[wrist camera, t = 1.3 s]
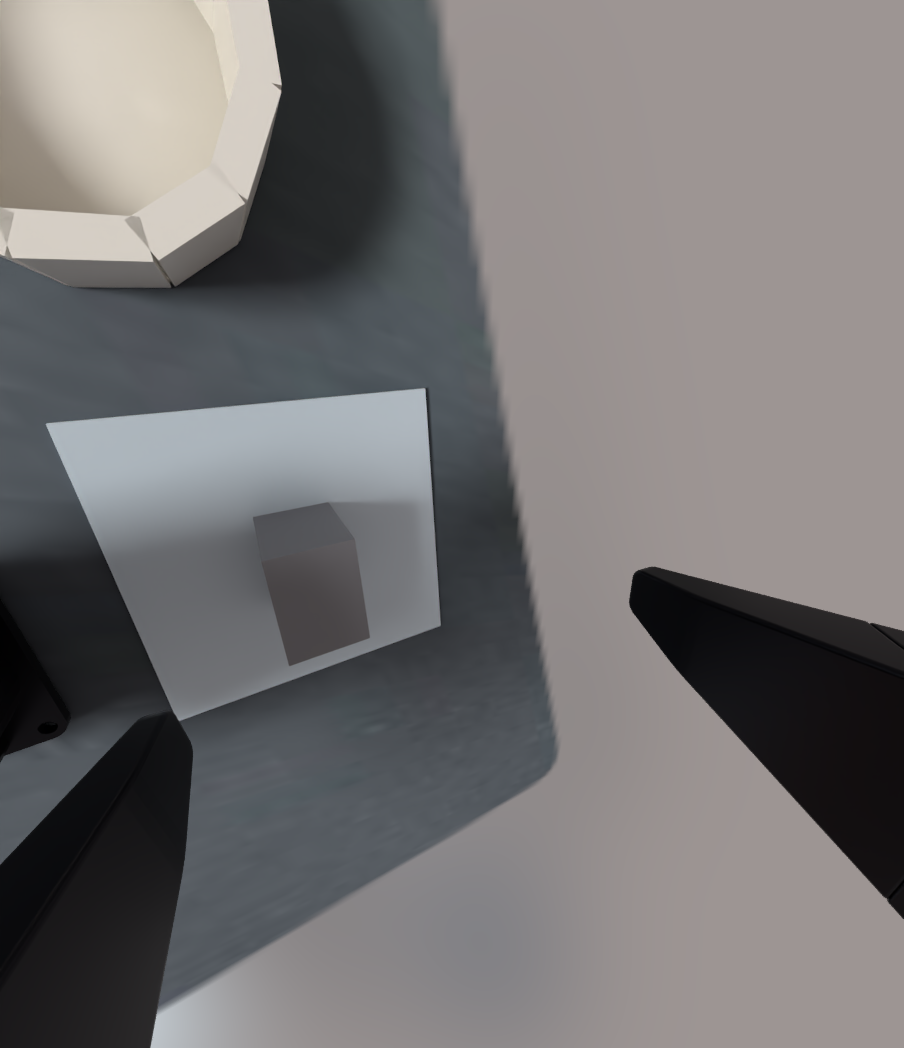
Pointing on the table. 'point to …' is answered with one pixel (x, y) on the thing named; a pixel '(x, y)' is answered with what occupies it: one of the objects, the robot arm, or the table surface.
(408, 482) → the lid
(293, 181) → the table surface
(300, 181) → the table surface
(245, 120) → the bowl
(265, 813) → the table surface
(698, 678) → the robot arm
